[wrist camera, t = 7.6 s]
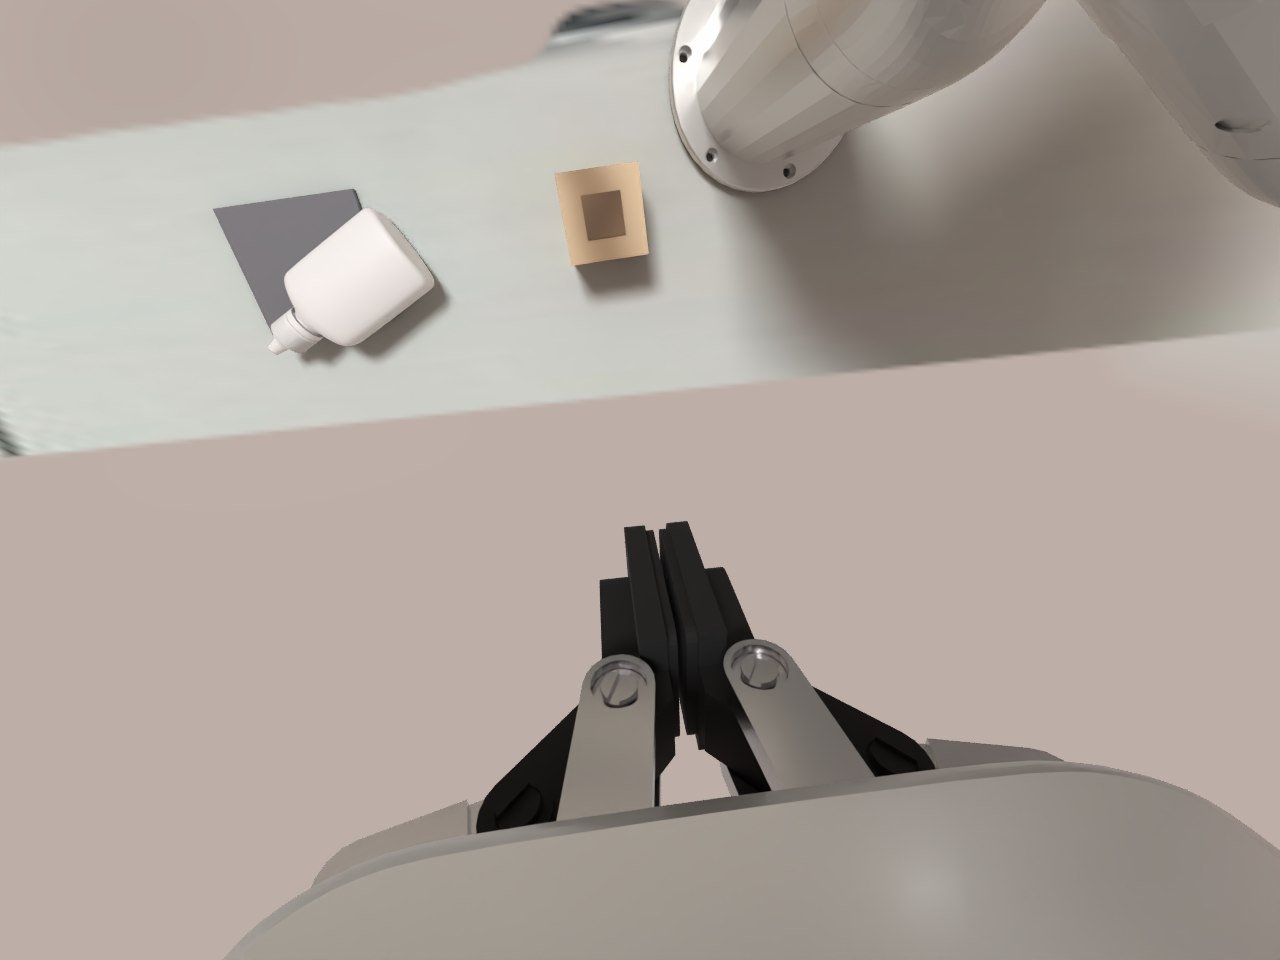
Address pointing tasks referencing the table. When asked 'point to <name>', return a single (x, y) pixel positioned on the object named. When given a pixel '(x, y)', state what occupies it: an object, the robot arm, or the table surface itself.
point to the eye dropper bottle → (350, 285)
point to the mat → (282, 239)
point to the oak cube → (603, 213)
